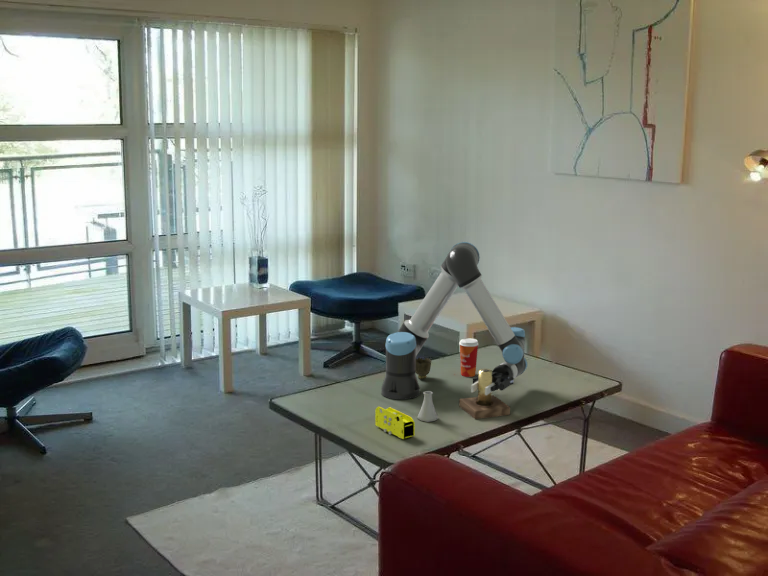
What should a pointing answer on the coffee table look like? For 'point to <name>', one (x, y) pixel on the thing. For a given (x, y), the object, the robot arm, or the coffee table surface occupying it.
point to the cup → (422, 367)
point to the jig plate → (484, 408)
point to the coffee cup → (468, 356)
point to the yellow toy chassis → (394, 422)
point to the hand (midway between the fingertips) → (478, 390)
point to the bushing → (483, 382)
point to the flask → (427, 408)
